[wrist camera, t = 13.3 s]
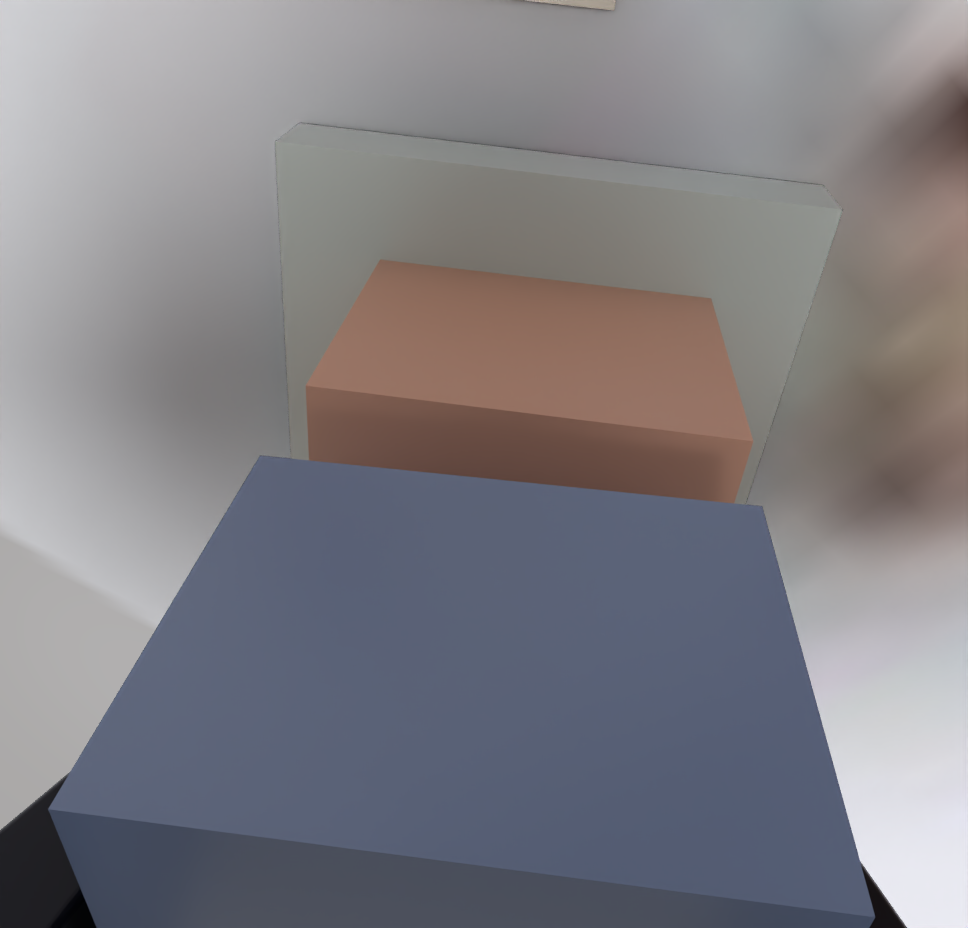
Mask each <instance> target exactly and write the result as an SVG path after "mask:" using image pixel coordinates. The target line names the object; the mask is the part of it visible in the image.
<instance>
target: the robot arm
mask: <svg viewBox="0 0 968 928" xmlns="http://www.w3.org/2000/svg"><path fill="white" fill-rule="evenodd" d="M69 773H70V772H69ZM69 773H68V774H67V775H66V776H65V777H63V778H62V779H61V780H60V781H59V782H58V783H56V784H55V785H54V786H53V787H52V788H50V789H49V790H48V791H47V792H45V793H44V794H43V795H42V796H41V797H40V798H38V799H37V800H36V801H35V802H34V803H32V804H31V805H30V806H29V807H28V808H26V809H25V810H24V811H23V812H22V813H20V814H19V815H18V816H17V817H15V819H13V820H12V821H11V822H10V823H8V824H7V825H6V826H5V827H4V828H2V829H1V830H0V928H97V927H96V925H95V923H94V920H93V918H92V915H91V913H90V910H89V908H88V905H87V903H86V901H85V898H84V896H83V893H82V891H81V888H80V886H79V884H78V881H77V879H76V876H75V874H74V871H73V869H72V866H71V864H70V862H69V859H68V857H67V854H66V852H65V849H64V847H63V844H62V842H61V840H60V837H59V835H58V832H57V830H56V827H55V825H54V822H53V820H52V818H51V815H50V813H49V810H48V808H49V807H50V805H51V803H52V802H53V800H54V798H55V797H56V795H57V793H58V792H59V790H60V788H61V787H62V785H63V783H64V782H65V780H66V778H67V777H68V775H69ZM860 863H861V862H860ZM861 867H862V871H863V874H864V878H865V881H866V885H867V889H868V892H869V896H870V900H871V903H872V907H873V910H874V914H875V919H874V920H873V922H872V924H871V926H870V927H869V928H907V927H906V926H905V924H904V923H903V921H902V920H901V919H900V917H899V916H898V914H897V913H896V911H895V910H894V909H893V907H892V906H891V904H890V903H889V902H888V900H887V899H886V897H885V896H884V894H883V893H882V892H881V890H880V889H879V887H878V886H877V884H876V883H875V882H874V880H873V879H872V877H871V876H870V874H869V873H868V872H867V870H866V869H865V867H864V866H863V864H862V863H861Z"/></svg>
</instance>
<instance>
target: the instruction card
mask: <svg viewBox="0 0 968 928" xmlns="http://www.w3.org/2000/svg"><path fill="white" fill-rule="evenodd" d="M525 1H534V2H543V3H552V4H560V5H569V6H578V7H587V8H596V9H605V10H614V9H615V3H616V0H525Z"/></svg>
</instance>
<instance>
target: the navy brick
mask: <svg viewBox="0 0 968 928" xmlns="http://www.w3.org/2000/svg"><path fill="white" fill-rule="evenodd" d="M48 810H49V813H50V815H51V818H52V820H53V822H54V825H55V827H56V830H57V832H58V835H59V837H60V840H61V842H62V844H63V847H64V849H65V852H66V854H67V857H68V859H69V862H70V864H71V866H72V869H73V871H74V874H75V876H76V879H77V881H78V884H79V886H80V888H81V891H82V893H83V896H84V898H85V901H86V903H87V905H88V908H89V910H90V913H91V915H92V918H93V920H94V923H95V925H96V927H97V928H869V927H870V926H871V924H872V922H873V920H874V919H875V914H874V910H873V907H872V903H871V900H870V896H869V892H868V889H867V885H866V881H865V878H864V874H863V871H862V867H861V863H860V860H859V856H858V852H857V849H856V845H855V842H854V838H853V834H852V831H851V827H850V823H849V820H848V816H847V813H846V809H845V805H844V802H843V798H842V794H841V791H840V787H839V784H838V780H837V776H836V773H835V769H834V765H833V762H832V758H831V754H830V751H829V747H828V744H827V740H826V736H825V733H824V729H823V725H822V722H821V718H820V715H819V711H818V707H817V704H816V700H815V696H814V693H813V689H812V686H811V682H810V678H809V675H808V671H807V667H806V664H805V660H804V657H803V653H802V649H801V646H800V642H799V638H798V635H797V631H796V628H795V624H794V620H793V617H792V613H791V609H790V606H789V602H788V599H787V595H786V591H785V588H784V584H783V580H782V577H781V573H780V569H779V566H778V562H777V559H776V555H775V551H774V548H773V544H772V540H771V537H770V533H769V530H768V526H767V522H766V519H765V515H764V511H763V508H762V506H754V505H744V504H734V503H724V502H714V501H704V500H695V499H685V498H675V497H665V496H655V495H645V494H635V493H625V492H616V491H606V490H596V489H586V488H576V487H566V486H556V485H546V484H537V483H527V482H517V481H507V480H497V479H487V478H477V477H468V476H458V475H448V474H438V473H428V472H418V471H408V470H398V469H389V468H379V467H369V466H359V465H349V464H339V463H329V462H319V461H310V460H300V459H290V458H280V457H270V456H260V457H259V458H258V460H257V462H256V463H255V465H254V467H253V468H252V470H251V472H250V473H249V475H248V477H247V478H246V480H245V482H244V483H243V485H242V487H241V488H240V490H239V492H238V493H237V495H236V497H235V498H234V500H233V502H232V503H231V505H230V507H229V508H228V510H227V512H226V513H225V515H224V517H223V518H222V520H221V522H220V523H219V525H218V527H217V528H216V530H215V532H214V533H213V535H212V537H211V538H210V540H209V542H208V543H207V545H206V547H205V548H204V550H203V552H202V553H201V555H200V557H199V558H198V560H197V562H196V563H195V565H194V567H193V568H192V570H191V572H190V573H189V575H188V577H187V578H186V580H185V582H184V583H183V585H182V587H181V588H180V590H179V592H178V593H177V595H176V597H175V598H174V600H173V602H172V603H171V605H170V607H169V608H168V610H167V612H166V613H165V615H164V617H163V618H162V620H161V622H160V623H159V625H158V627H157V628H156V630H155V632H154V633H153V635H152V637H151V638H150V640H149V642H148V643H147V645H146V647H145V648H144V650H143V652H142V653H141V655H140V657H139V659H138V660H137V662H136V663H135V665H134V667H133V669H132V670H131V672H130V673H129V675H128V677H127V678H126V680H125V682H124V683H123V685H122V687H121V688H120V690H119V692H118V693H117V695H116V697H115V698H114V700H113V702H112V703H111V705H110V707H109V708H108V710H107V712H106V713H105V715H104V717H103V719H102V720H101V722H100V723H99V725H98V727H97V728H96V730H95V732H94V733H93V735H92V737H91V738H90V740H89V742H88V743H87V745H86V747H85V748H84V750H83V752H82V754H81V755H80V757H79V759H78V760H77V762H76V763H75V765H74V767H73V768H72V770H71V772H70V773H69V775H68V777H67V778H66V780H65V782H64V783H63V785H62V787H61V788H60V790H59V792H58V793H57V795H56V797H55V798H54V800H53V802H52V803H51V805H50V807H49V808H48Z"/></svg>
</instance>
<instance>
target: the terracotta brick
mask: <svg viewBox="0 0 968 928" xmlns="http://www.w3.org/2000/svg"><path fill="white" fill-rule="evenodd" d="M306 405H307V428H308V450H309V460H310V461H319V462H329V463H339V464H349V465H359V466H369V467H379V468H389V469H398V470H408V471H418V472H428V473H438V474H448V475H458V476H468V477H477V478H487V479H497V480H507V481H517V482H527V483H537V484H546V485H556V486H566V487H576V488H586V489H596V490H606V491H616V492H625V493H635V494H645V495H655V496H665V497H675V498H685V499H695V500H704V501H714V502H724V503H734V502H735V499H736V496H737V493H738V489H739V486H740V483H741V480H742V476H743V473H744V470H745V467H746V464H747V460H748V457H749V454H750V451H751V448H752V444H753V438H752V435H751V431H750V428H749V425H748V421H747V418H746V415H745V411H744V408H743V404H742V401H741V398H740V394H739V391H738V387H737V384H736V381H735V377H734V374H733V371H732V367H731V364H730V360H729V357H728V354H727V350H726V347H725V344H724V340H723V337H722V333H721V330H720V327H719V323H718V320H717V317H716V313H715V310H714V306H713V303H712V300H711V298H704V297H695V296H687V295H678V294H670V293H661V292H653V291H644V290H636V289H627V288H619V287H610V286H601V285H593V284H584V283H576V282H567V281H559V280H550V279H542V278H533V277H525V276H516V275H508V274H499V273H491V272H482V271H474V270H465V269H457V268H448V267H440V266H431V265H422V264H414V263H405V262H397V261H388V260H379V262H378V264H377V265H376V267H375V269H374V271H373V272H372V274H371V276H370V277H369V279H368V281H367V282H366V284H365V286H364V288H363V289H362V291H361V293H360V294H359V296H358V298H357V299H356V301H355V303H354V304H353V306H352V308H351V310H350V311H349V313H348V315H347V316H346V318H345V320H344V321H343V323H342V325H341V326H340V328H339V330H338V332H337V333H336V335H335V337H334V338H333V340H332V342H331V343H330V345H329V347H328V349H327V350H326V352H325V354H324V355H323V357H322V359H321V360H320V362H319V364H318V365H317V367H316V369H315V371H314V372H313V374H312V376H311V377H310V379H309V381H308V382H307V384H306Z"/></svg>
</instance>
